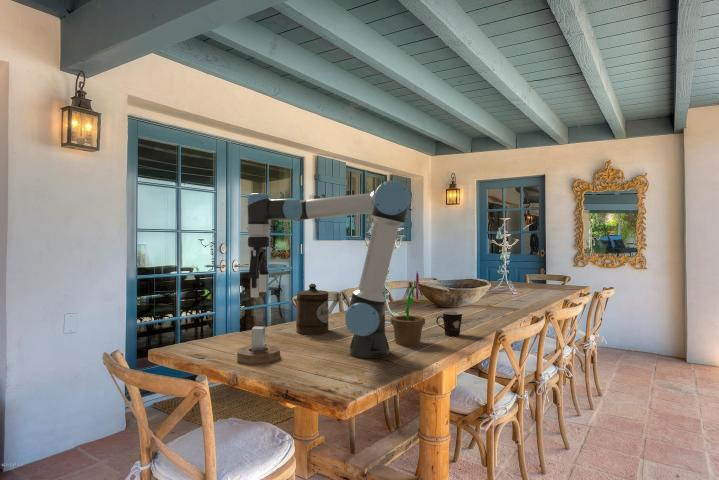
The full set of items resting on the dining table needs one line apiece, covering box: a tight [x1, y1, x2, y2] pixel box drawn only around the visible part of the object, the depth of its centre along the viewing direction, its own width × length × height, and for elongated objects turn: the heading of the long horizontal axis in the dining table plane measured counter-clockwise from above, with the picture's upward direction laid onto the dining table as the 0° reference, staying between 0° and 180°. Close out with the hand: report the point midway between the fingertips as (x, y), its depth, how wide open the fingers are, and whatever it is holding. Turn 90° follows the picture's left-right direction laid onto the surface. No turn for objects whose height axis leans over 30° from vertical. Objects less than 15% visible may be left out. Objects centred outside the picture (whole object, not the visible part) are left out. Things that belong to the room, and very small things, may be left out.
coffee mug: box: [436, 310, 463, 338], centre depth 203 cm, size 12×9×10 cm
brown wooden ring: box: [236, 343, 281, 365], centre depth 165 cm, size 15×15×3 cm
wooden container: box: [295, 283, 329, 335], centre depth 210 cm, size 15×15×22 cm
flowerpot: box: [390, 271, 426, 347], centre depth 188 cm, size 14×14×30 cm
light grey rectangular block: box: [251, 326, 266, 352], centre depth 165 cm, size 4×4×11 cm
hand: (259, 294), depth 165 cm, fingers open, 13 cm apart
